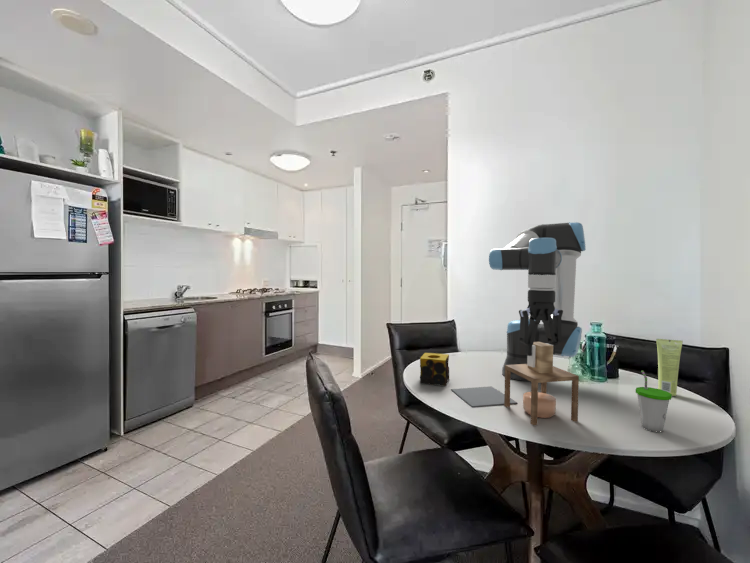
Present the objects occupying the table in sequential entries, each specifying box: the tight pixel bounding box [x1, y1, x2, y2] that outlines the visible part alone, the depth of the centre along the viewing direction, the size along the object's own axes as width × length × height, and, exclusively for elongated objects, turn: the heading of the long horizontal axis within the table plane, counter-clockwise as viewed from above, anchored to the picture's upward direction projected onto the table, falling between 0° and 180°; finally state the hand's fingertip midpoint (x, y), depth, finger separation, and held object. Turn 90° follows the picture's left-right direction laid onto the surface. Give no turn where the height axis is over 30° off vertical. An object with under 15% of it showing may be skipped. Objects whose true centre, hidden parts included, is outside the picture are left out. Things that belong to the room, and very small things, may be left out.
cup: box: [635, 370, 673, 433], centre depth 95 cm, size 8×8×15 cm
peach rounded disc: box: [522, 391, 557, 419], centre depth 105 cm, size 9×9×5 cm
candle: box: [419, 352, 450, 387], centre depth 135 cm, size 10×10×10 cm
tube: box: [655, 338, 683, 397], centre depth 122 cm, size 6×5×20 cm
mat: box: [450, 386, 518, 408], centre depth 118 cm, size 16×16×1 cm
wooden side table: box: [504, 342, 580, 426], centre depth 104 cm, size 14×14×21 cm
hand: (539, 365), depth 104 cm, fingers open, 5 cm apart
